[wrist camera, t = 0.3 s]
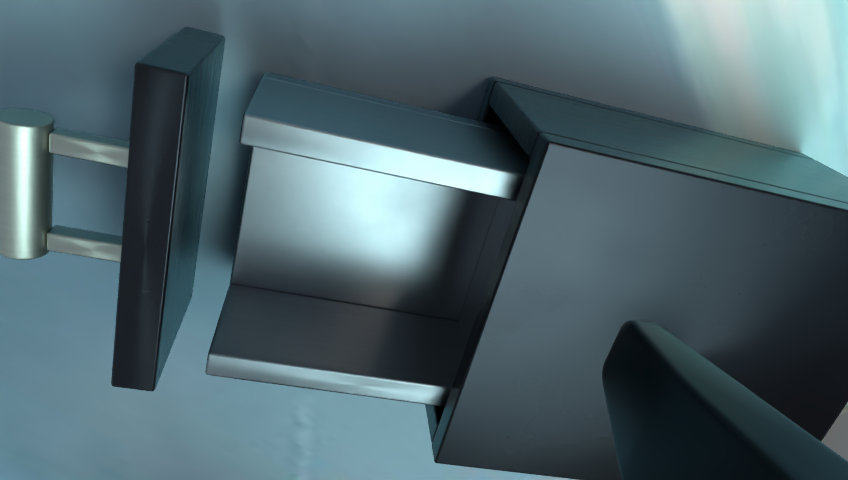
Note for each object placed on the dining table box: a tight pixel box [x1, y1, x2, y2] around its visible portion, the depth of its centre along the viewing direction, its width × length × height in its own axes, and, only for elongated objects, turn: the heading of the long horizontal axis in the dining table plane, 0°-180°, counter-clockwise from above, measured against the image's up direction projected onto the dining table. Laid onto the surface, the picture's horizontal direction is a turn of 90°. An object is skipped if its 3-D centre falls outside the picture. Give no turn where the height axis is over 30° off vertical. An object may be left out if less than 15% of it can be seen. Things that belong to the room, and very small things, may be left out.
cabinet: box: [425, 77, 848, 480], centre depth 22 cm, size 13×11×7 cm
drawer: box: [0, 27, 531, 407], centre depth 20 cm, size 15×9×5 cm, turn 75°
